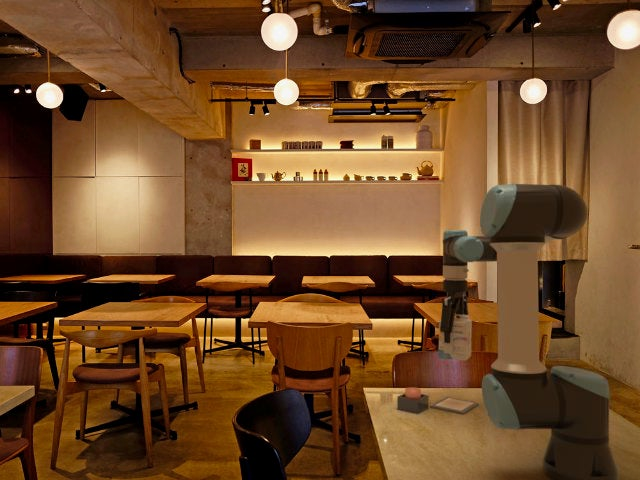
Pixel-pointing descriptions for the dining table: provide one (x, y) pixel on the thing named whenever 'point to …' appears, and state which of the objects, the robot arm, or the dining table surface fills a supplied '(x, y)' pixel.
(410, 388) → the button
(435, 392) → the dining table surface
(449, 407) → the board
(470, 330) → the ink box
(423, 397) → the button housing
